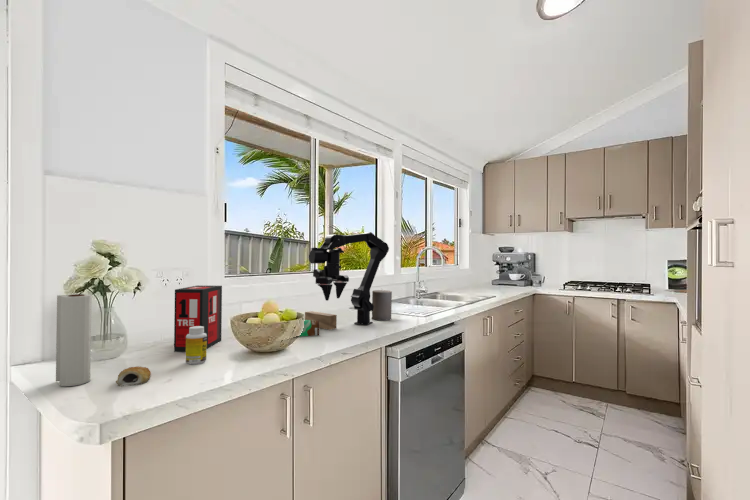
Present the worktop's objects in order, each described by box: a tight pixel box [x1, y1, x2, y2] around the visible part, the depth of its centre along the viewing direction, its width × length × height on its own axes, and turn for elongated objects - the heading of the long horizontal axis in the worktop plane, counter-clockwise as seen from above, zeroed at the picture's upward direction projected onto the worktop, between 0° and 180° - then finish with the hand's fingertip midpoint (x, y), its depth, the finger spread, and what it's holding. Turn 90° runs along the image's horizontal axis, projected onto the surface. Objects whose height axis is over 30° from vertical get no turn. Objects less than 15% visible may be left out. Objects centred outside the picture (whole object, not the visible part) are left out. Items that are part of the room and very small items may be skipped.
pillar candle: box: [371, 289, 393, 321], centre depth 196 cm, size 10×10×15 cm
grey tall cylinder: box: [55, 293, 92, 387], centre depth 97 cm, size 7×6×21 cm
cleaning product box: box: [173, 285, 223, 353], centre depth 136 cm, size 16×9×20 cm, turn 0°
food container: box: [299, 319, 320, 337], centre depth 159 cm, size 12×6×10 cm
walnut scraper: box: [304, 310, 338, 331], centre depth 174 cm, size 4×16×6 cm, turn 50°
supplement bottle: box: [185, 326, 208, 365], centre depth 116 cm, size 6×6×10 cm
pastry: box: [115, 366, 152, 387], centre depth 100 cm, size 9×7×4 cm
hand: (332, 299), depth 173 cm, fingers open, 9 cm apart
